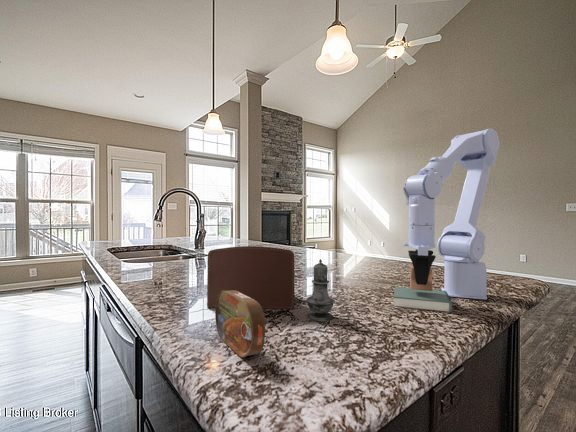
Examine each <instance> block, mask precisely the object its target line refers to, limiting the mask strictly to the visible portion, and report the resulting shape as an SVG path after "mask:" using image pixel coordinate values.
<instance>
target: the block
mask: <svg viewBox="0 0 576 432" xmlns="http://www.w3.org/2000/svg"><path fill="white" fill-rule="evenodd" d="M409 281H410V284H409V285H410V288H411V289H413V290H425V291H432V290H433V269H432V267H431V268H430V272H429V277H428V281H427V284H426V285H420V284H417V283H416V279H415V273H414V267H413V264H410V280H409Z"/></svg>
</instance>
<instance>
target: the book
mask: <svg viewBox="0 0 576 432" xmlns="http://www.w3.org/2000/svg"><path fill="white" fill-rule="evenodd" d="M393 292H394V293H393V307H396V308H405V309H414V310H423V309H425V310H426V311H433V310H435V311H436V312H443V311H444V313H452V312H453V301H452V299H451V298H450V297H451V296H449V295H448V294H447V292H446V291H442V290H441V289H440V290H437V289H432V291H425V290H413V289H411V287H404V286H394V291H393Z"/></svg>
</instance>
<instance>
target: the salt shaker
mask: <svg viewBox="0 0 576 432" xmlns="http://www.w3.org/2000/svg"><path fill="white" fill-rule="evenodd" d="M311 283H312V295H311V296H309V297H306V301H305V302H307V306H308V308H309V310H310V311H311V312H310V313H308V314H307V318H308V319H309V320H311V321H315V322H321V323H322V322H330V321H332V320H333V319H334V315H333V314H331V313H330V312H331V311H332V309H333V307H334V303H335V298H333V297H332V296H329V295H330V294H329V288H328V287H329V284H330V281H329V280H328V266H327V265H326V264H325V263H323V261H322V259H319V261H318V263H316V264H314V266H313V280H311Z"/></svg>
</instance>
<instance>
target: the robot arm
mask: <svg viewBox="0 0 576 432" xmlns="http://www.w3.org/2000/svg"><path fill="white" fill-rule="evenodd" d="M500 145H501V144H500V138H499V134H498V133H497V131H496V130H495V129H494V128H492V127H490V128H487V129H483V130H479V131H475V132H469V133H465V134H457V135H456V136H454V137H453V138H452V139H451V141H450V146H449V147H448V149H446V151H445V152H444V153H443V154H442V155H441V156H435V157H434V156H433V157H431V158H429V162H428V163H427V164H426V165H425V166H424V167H423V168H421V169H420V170H419V172H418V173H417V174H415V175H411V176H409V177H408V178H407V179H406V180H405V181H404V185H403V187H402V191H403V193H404V196H405V198H406V205H407V206H408V241H407V242H403V243H402V245H403V247H409V248H412V249H414V250H408V257H409V258H410V261H411V263H412V264H411V265H413V267H414V273H415V279H416V283H417V284H420V285H426V284H427V281H428V277H429V272H430V268H432V266H433V263H434V261H435V260H436V255H435V254H434V251H433V250H432V249H436V248H437V252H438V254H439V255H440V256H441V260H444V274H443V276H444V283H443V284H444V285H443V286H444V287H440V290H441V291H446V292H447V294H448V295H449V297H454V298H462V299H463V298H465V299H474V300H488V297H487V287H488V286H487V278H488V277H487V275H488V274H487V266H486V263H485V262H483V261H480V260H481V259H482V258H483V256H484V254H485V239H486V235H485V233H484V232H483V231H482V230H480V229H479V228H478V227H477V224H478V220H479V217H480V212H481V208H482V203H483V201H484V196H485V193H486V189H487V185H488V180H489V177H490V173H491V170H492V169H491V168H492V166H493V165H494V164H495V163H496V160H497V158H498V153H499V150H500ZM457 163H458V164H459V165H460V167H461V168H463V169H466V171H467V172H466V177H465V181H464V184H463V188H462V190H461V196H460V199H459V202H458V206H457V210H456V214H455V218H454V221H453V222H452V223H450V224H449V225H447V226H446V227H444V228H443V230H442V233H441V235H440V236H439V238H438V240H437V243H436V244H437V245H436V244H435V241H436V239H435V237H436V236H435V235H436V233H435V231H436V228H435V227H436V225H435V222H436V219H435V218H436V211H435V210H436V198H437V197H439V196H440V194H441V190H442V186H443V184H444V182H446V180H447V179H448V178H450V176H451V175H452V173H454V165H456V164H457Z"/></svg>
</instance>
